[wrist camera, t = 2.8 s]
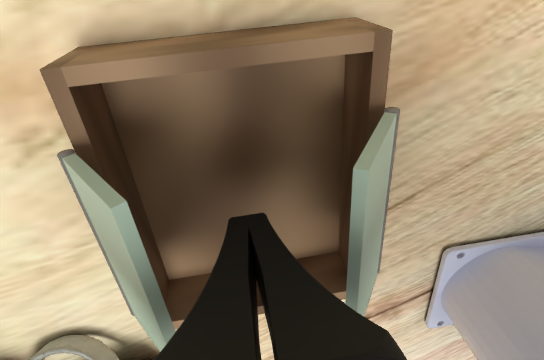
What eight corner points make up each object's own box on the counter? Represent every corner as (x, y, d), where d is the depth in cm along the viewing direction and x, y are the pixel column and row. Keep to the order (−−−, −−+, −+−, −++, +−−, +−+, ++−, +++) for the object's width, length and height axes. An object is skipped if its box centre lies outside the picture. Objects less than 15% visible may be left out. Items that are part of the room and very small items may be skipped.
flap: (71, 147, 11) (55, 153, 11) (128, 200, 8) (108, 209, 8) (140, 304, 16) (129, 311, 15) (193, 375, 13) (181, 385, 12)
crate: (355, 17, 14) (392, 30, 11) (344, 250, 21) (365, 295, 18) (77, 47, 13) (39, 69, 10) (162, 280, 20) (153, 332, 17)
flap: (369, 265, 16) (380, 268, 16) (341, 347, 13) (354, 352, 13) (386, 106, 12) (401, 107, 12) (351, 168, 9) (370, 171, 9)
